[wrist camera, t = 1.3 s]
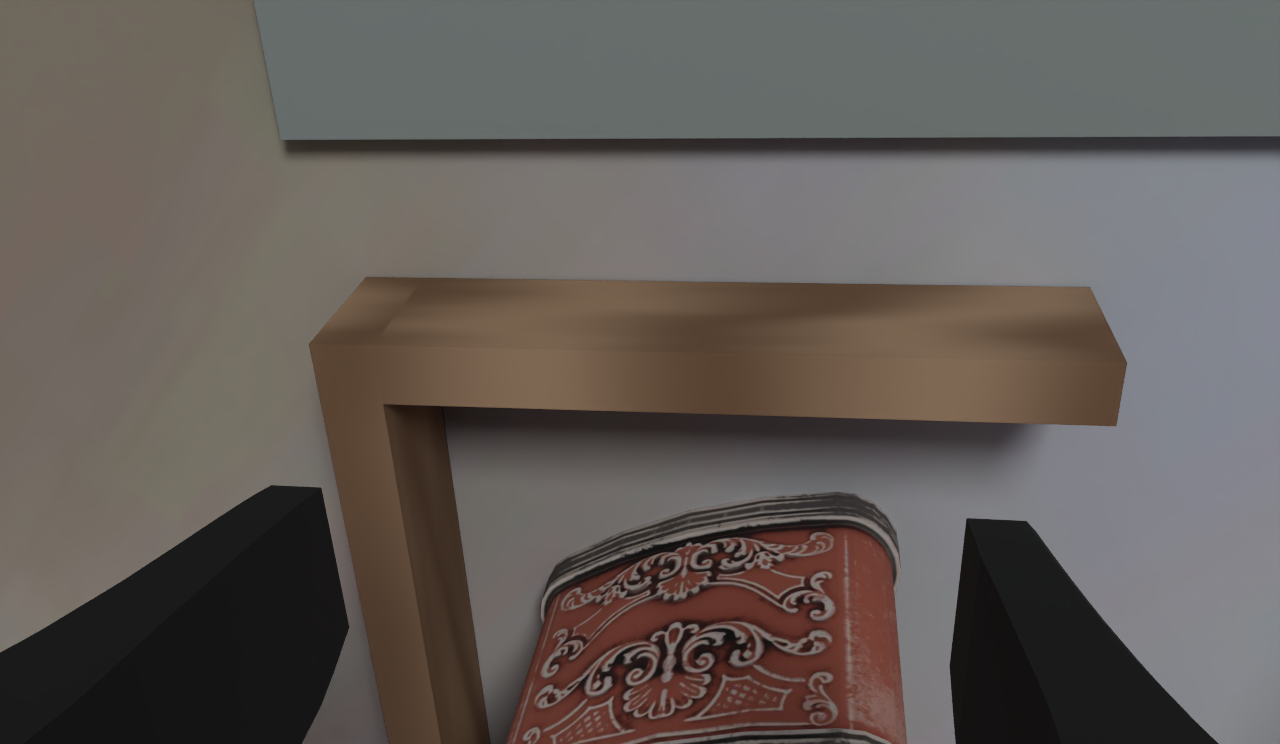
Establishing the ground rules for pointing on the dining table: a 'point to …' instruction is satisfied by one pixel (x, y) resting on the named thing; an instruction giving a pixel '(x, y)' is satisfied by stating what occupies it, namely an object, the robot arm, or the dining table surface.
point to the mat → (771, 68)
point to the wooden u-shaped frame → (642, 407)
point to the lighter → (724, 631)
